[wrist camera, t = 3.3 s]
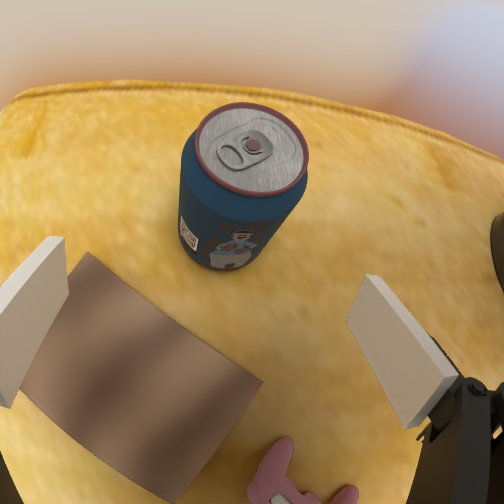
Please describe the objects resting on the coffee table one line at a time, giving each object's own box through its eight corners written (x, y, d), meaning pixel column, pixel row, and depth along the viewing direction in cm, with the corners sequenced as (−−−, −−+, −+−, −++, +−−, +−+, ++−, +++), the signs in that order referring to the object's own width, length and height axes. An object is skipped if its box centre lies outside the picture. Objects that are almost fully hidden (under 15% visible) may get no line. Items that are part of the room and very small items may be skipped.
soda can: (230, 183, 28) (265, 81, 17) (278, 245, 27) (345, 168, 16) (161, 221, 25) (156, 122, 14) (210, 291, 24) (238, 233, 13)
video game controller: (244, 456, 22) (230, 513, 15) (285, 427, 22) (283, 484, 15) (320, 509, 21) (324, 562, 14) (360, 485, 21) (374, 538, 14)
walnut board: (258, 380, 23) (263, 382, 21) (173, 497, 18) (173, 504, 17) (92, 257, 23) (87, 251, 21) (11, 370, 18) (3, 371, 17)
